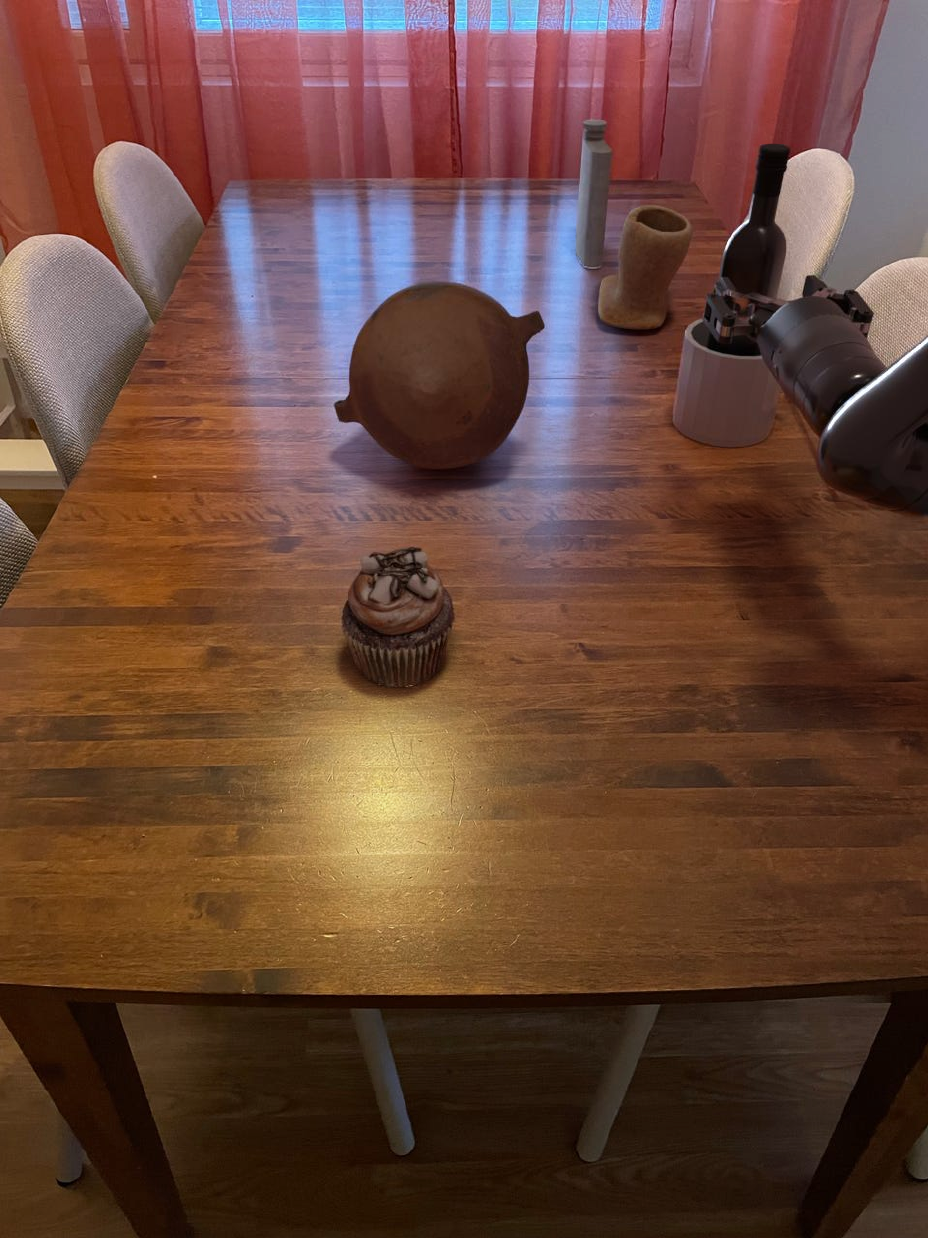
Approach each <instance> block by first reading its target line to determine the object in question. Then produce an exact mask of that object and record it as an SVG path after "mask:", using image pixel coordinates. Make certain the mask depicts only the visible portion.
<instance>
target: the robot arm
mask: <svg viewBox="0 0 928 1238" xmlns="http://www.w3.org/2000/svg"><path fill="white" fill-rule="evenodd" d="M718 279H719V278H718ZM843 291H844V293H837V289H836V288H834V287H829V286H828V285H827V284H826V283H825V282H824V281H823V280H821V279H819V278H818V277H817V276H816V275H815V274H807V275H806V276H805V278H804V284H803V288H802V292H801V293H802V294H801V295H802V297H799V298H796V299H792V300H785V299H781V298H776V300H774V299H771V298H769V297H766V296H763V295H760V294H757V293H754V292H753V293H750V294H748V295H744V294H742V293H739V292H737V290H736V288H735V287H734V285H733V284H732V283H731V281H730V280H729V278H728V277H720V279H719V282H718V281H715V282H714V287H713V292H709V293H706V295H705V305H704V311H703V314H702V318H703V319H702V318H701V319H702V320H703V322H704V323H705V325H706V326H707V327H708V329H709V330H710V332H711V333H712V334H713V336H714V337H715V338H716V340H717V341H718V342H719V343H720V344H730V343H731V341H732V337H733V336H738V335H747V336H748V338H749V339H751V340H753V341H755V342H756V343H758V345H759V349H760V353H761V356H762V358H763V361H764V362H765V364H766V366H767V367H768V369H769V370H770V372H771V373H772V375H773V376H774V378H775V380H776V381H777V383H778V384H779V386H780V387H781V392H783V394H784V396H786V398H787V399H788V400H789V402H790V403H792V405H793V406H794V407H796V408H797V409H798V411H799V412H800V414H801V415H802V417H803V419H804V420H805V422H806V423H807V425H808V426H809V428H810V429H811V431H812V432H813V433H814V434H815V435H816V436H817V437H818V438H819V440H818V443H817V449H816V453H815V454H816V455H815V459H816V460H815V461H816V463H815V464H816V469H817V472H818V474H819V477H820V479H821V480H822V481H823V482H824V483H825V484H826V485H827V486H828V487H830V488H831V489H833V490H834V491H836V492H839V493H841V494H843V495H846V496H849V497H851V498H854V499H857V500H859V501H861V502H865V503H867V504H870V505H873V506H875V507H878V508H881V509H883V510H885V511H887V512H890V513H893V514H894V515H895V514H896V515H898V516H902V517H907V518H911V519H920V518H928V334H926V336H924V337H923V338H922V339H921V340H920V341H918V342H917V343H916V344H915V345H914V346H912V347H911V348H910V349H909V350H907V351H906V352H904V353H902V355H901V356H899V357H898V358H897V359H896V360H895V361H893V363H891V364H890V365H889V366H886V365H885V364H884V362H883V361H882V360H881V359H880V358H879V356H877V354H876V353H875V351H874V349H873V346H872V345H871V343H870V342H869V340H868V335H869V332H870V329H871V325H872V321H873V319H874V315H875V312H874V311H873V310H872V309H871V307H870V306H869V305H868V303H867V302H866V301H865V299H864V298H863V297H862V295H860V293H859V292H858V291H857V290H854V289H845V290H843ZM735 303H738V304H739V305H740V313H739V314H737V311H734V308H735ZM755 305H757V306H760V308H759V309H758V310H757V311H756V312H755V313H754V308H755ZM753 313H754V314H753Z"/></svg>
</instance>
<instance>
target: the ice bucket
mask: <svg viewBox="0 0 928 1238" xmlns="http://www.w3.org/2000/svg"><path fill="white" fill-rule="evenodd" d="M702 319H703V317H702V318H700V319H697V320H694V321H693V322H691V323H690V324H688V325H687V327H686V329H685V331H684V335H683V342H682V349H681V355H680V362H679V369H678V374H677V382H676V387H675V394H674V401H673V407H672V419H671V420H672V423H673V426H674V427H675V429H676V430H677V431H678V432H679V433H680V434H681V435H683V436H685V437H686V438H688V439H690V440H692V441H695V442H697V443H701V444H704V445H708V446H712V447H719V448H743V447H744V448H745V447H750V446H754V445H757V444H759V443H762V442H763V441H765V440H766V439H767V438H768V437H770V435H771V434H772V431H773V427H774V424H775V419H776V414H777V411H778V406H779V401H780V398H781V393H782V389H781V387H780V386H779V384H778V383H777V381H776V380H775V378H774V376H773V375H772V373H771V372H770V370H769V369H768V367H767V366H766V364H765V362H764V361H763V358H762V356H735V355H728V354H722V353H719V352H715V351H712V350H710V349H708V348H707V343H708V337H709V331H710V330H709V329H708V327H707V326H706V325H705V323H704V322H703V320H702Z"/></svg>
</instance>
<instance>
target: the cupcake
mask: <svg viewBox="0 0 928 1238" xmlns="http://www.w3.org/2000/svg"><path fill="white" fill-rule="evenodd" d="M361 557H362V558H361V559H360V567H361V570H360V571H359V573H358V574H357V575H356V576H355V578H354V579H353V581H352V582H351V584H350V586H349V589H348V592H347V599H346V601H345V603H344V605H343V608H342V611H341V613H342V616H341V617H340V619H341V622H340V623H341V631H342V632H343V635H344V637H345V640H346V642H347V645H348V648H349V650H350V653H351V656H352V659H353V661H354V663H355V665H356V667H357V670H358V672H359V673H360V674H361V676H363V677H364V678H365V679H366V680H367V681H369V680H370V681H369V682H371V681H373V682H375V683H374V684H376V683H377V684H376V685H378V684H380V685H385V686H388V687H387V688H390V687H389V686H397V687H406V686H409V685H415V684H418V685H420V684H421V683H422V682H421V681H425V680H427V679H429V678H431V679H432V678H433V676H434V677H435V675H436V674H437V673H439V672H440V671H441V669H442V666H443V664H444V663H445V661H446V660H445V658H446V652H447V646H448V642H449V638H450V635H451V631H452V628H453V626H454V622H455V620H456V619H455V618H456V613H455V608H454V605H453V604H454V603H453V598H452V596H451V594H450V592H449V591H448V590H447V589H446V587H444V584H443V581H442V578H441V577H440V575H439V573H438V572H437V571H436V570H435V569H433V567H431V565H429V564H428V563H429V556H428V553H426V552H424V551H422V547H414V546H410V547H404V548H399V549H395V550H393V551H391V552H387V553H383V552H377V551H373V552H372V553H371V554H368V555H363V556H361ZM429 680H430V679H429ZM427 681H428V680H427ZM373 682H372V683H373ZM420 682H421V683H420ZM425 682H426V681H425ZM419 683H420V684H419ZM380 685H379V686H380ZM385 686H384V687H385ZM415 686H416V685H415ZM397 687H396V688H397ZM406 688H407V687H406Z"/></svg>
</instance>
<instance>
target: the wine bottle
mask: <svg viewBox="0 0 928 1238" xmlns="http://www.w3.org/2000/svg"><path fill="white" fill-rule="evenodd" d="M790 154H791V147H789V146H788V145H785V144H781V143H765V144H761V145H760V146H759V148H758V154H757V160H756V162H757V163H756V164H755V170H756V172H755V178H754V182H753V189H752V195H751V200H750V205H749V209H748V216H747V219H746V220H745V221H744V222H742V223H741V224H740V225H739V226H738V227H737V228H736V229H735V230H734V231H733V232H732V234H731V235H730V237H729V238H728V240H727V242H726V245H725V248H724V250H723V253H722V256H721V262H720V268H719V272H718V273H719V274H718V280H717V282H719V279H720V277H728V278H729V280H730V281H731V283H732V284H733V285H734V287H735V288H736V290H737V292H739V293H742V294H744V295H748V294H750V293H753V292H754V293H757V294H760V295H763V296H766V297H769V298H771V299H774V300H776V299H778V293H779V289H780V284H781V280H782V275H783V270H784V265H785V261H786V256H787V238H786V235H785V232H784V231H783V230H782V228H781V227H780V225H778V224H777V223H776V215H777V210H778V205H779V200H780V195H781V191H782V187H783V183H784V176H785V173H786V171H787V170H788V160H789V158H790ZM759 308H760V306H757V305H755V308H754V313H755V312H756V311H757V310H758V309H759ZM734 311H737V314H739V313H740V305H739V304H738V303H735V308H734ZM754 313H753V314H754ZM707 348H708V349H710V350H712V351H715V352H719V353H722V354H728V355H735V356H761V353H760V349H759V345H758V343H756V342H755V341H753V340H751V339H749V338H748V336H747V335H738V336H733V337H732V341H731V343H730V344H720V343H719V342H718V341H717V340H716V338H715V337H714V336H713V334H712V333H711V332H710V331H709V337H708V343H707Z"/></svg>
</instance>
